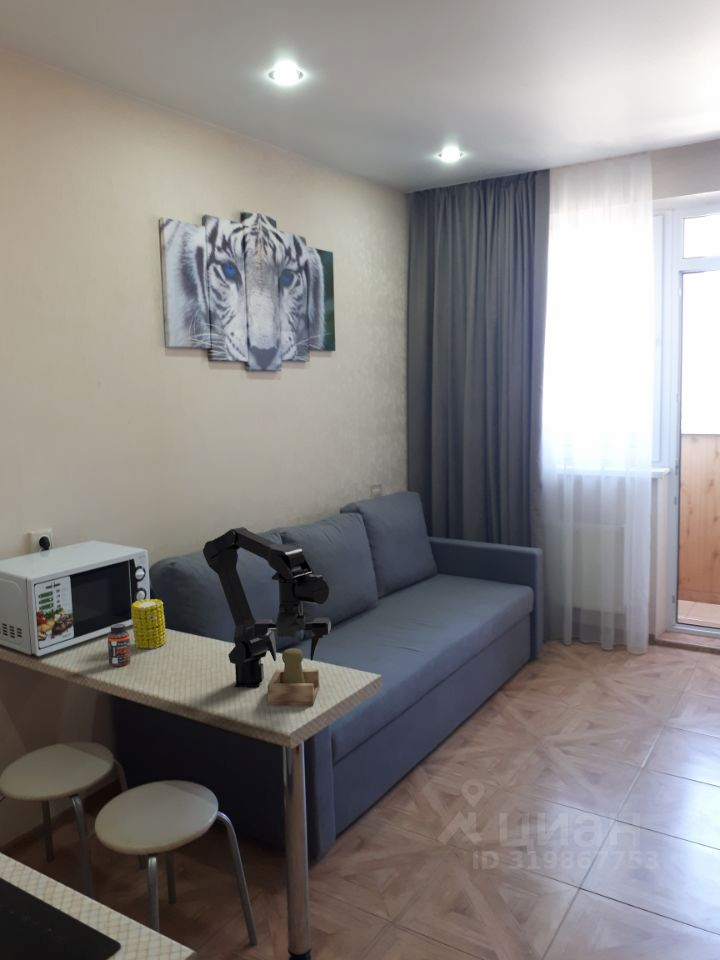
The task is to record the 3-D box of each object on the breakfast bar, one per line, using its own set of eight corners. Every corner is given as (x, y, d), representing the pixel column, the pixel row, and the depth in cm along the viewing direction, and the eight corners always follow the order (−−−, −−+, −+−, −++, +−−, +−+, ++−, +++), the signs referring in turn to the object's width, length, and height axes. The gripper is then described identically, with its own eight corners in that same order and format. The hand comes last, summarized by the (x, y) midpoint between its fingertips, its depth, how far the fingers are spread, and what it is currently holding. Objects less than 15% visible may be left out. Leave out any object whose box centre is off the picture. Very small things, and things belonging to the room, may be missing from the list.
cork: (311, 690, 186) (309, 647, 185) (296, 699, 181) (294, 655, 180) (291, 686, 190) (289, 644, 188) (277, 694, 184) (275, 651, 183)
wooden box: (267, 705, 180) (266, 686, 179) (277, 687, 192) (276, 668, 191) (313, 705, 179) (312, 686, 179) (319, 686, 191) (318, 668, 190)
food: (168, 644, 235) (158, 657, 225) (132, 637, 235) (120, 649, 225) (176, 599, 232) (166, 609, 222) (139, 591, 232) (127, 601, 223)
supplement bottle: (118, 668, 209) (115, 629, 208) (104, 665, 213) (102, 626, 212) (135, 662, 214) (132, 624, 213) (121, 659, 218) (119, 621, 217)
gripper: (245, 608, 176) (248, 672, 177) (324, 607, 174) (326, 671, 176) (255, 596, 187) (258, 656, 188) (329, 595, 185) (332, 656, 187)
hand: (293, 660), depth 184 cm, fingers open, 9 cm apart
